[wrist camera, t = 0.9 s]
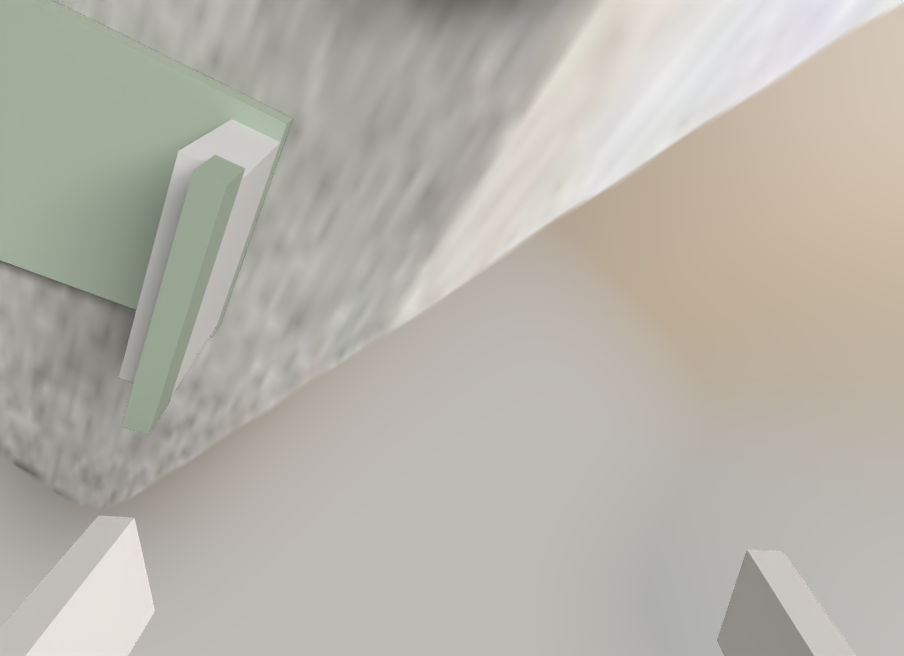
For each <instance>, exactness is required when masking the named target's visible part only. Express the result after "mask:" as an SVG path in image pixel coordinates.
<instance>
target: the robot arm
mask: <svg viewBox="0 0 904 656" xmlns="http://www.w3.org/2000/svg"><path fill="white" fill-rule="evenodd" d="M154 612H155V609H154V604H153V600H152V595H151V591H150V586H149V581H148V577H147V573H146V568H145V564H144V559H143V554H142V550H141V545H140V541H139V536H138V532H137V527H136V523H135V518H132V517H113V516H98V517H97V519H95V520H94V522H93V523H92V524H91V525H90V526H89V527H88V528H87V530H86V531H85V532H84V533H83V534H82V535H81V536H80V538H79V539H78V540H77V541H76V542H75V543H74V544H73V546H72V547H71V548H70V549H69V550H68V551H67V552H66V554H65V555H64V556H63V557H62V558H61V559H60V560H59V561H58V563H57V564H56V565H55V566H54V567H53V568H52V570H51V571H50V572H49V573H48V574H47V575H46V576H45V578H44V579H43V580H42V581H41V582H40V583H39V584H38V585H37V587H36V588H35V589H34V590H33V591H32V592H31V593H30V594H29V596H28V597H27V598H26V599H25V600H24V601H23V603H22V604H21V605H20V606H19V607H18V608H17V609H16V610H15V612H14V613H13V614H12V615H11V616H10V617H9V618H8V620H7V621H6V622H5V623H4V624H3V625H2V626H1V628H0V656H128V655H129V653H130V651H131V650H132V648H133V647H134V645H135V643H136V641H137V640H138V638H139V637H140V635H141V633H142V632H143V630H144V628H145V627H146V625H147V623H148V622H149V620H150V618H151V617H152V615H153V613H154ZM717 641H718V643H719V645H720V647H721V650H722V652H723V654H724V656H856V654H855V653H854V651H853V650H852V649H851V647H850V646H849V644H848V643H847V641H846V640H845V639H844V637H843V636H842V634H841V633H840V632H839V630H838V629H837V627H836V626H835V624H834V623H833V622H832V620H831V619H830V617H829V616H828V615H827V613H826V612H825V610H824V609H823V607H822V606H821V605H820V603H819V602H818V600H817V599H816V598H815V596H814V595H813V594H812V592H811V590H810V589H809V588H808V586H807V585H806V583H805V582H804V581H803V579H802V578H801V576H800V575H799V574H798V572H797V571H796V569H795V568H794V566H793V565H792V564H791V562H790V561H789V559H788V558H787V556H786V555H785V554H784V552H783V551H768V550H749V549H747V551H746V554H745V557H744V560H743V563H742V566H741V569H740V572H739V575H738V578H737V581H736V584H735V588H734V590H733V593H732V597H731V600H730V602H729V605H728V609H727V612H726V615H725V618H724V621H723V624H722V627H721V630H720V633H719V636H718V639H717Z"/></svg>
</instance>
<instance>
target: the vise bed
mask: <svg viewBox="0 0 904 656" xmlns="http://www.w3.org/2000/svg"><path fill="white" fill-rule="evenodd" d="M292 120H293V119H292V118H290V117H288V116H286V115H284V114H282V113H280V112H278V111H276V110H274V109H272V108H270V107H268V106H266V105H264V104H262V103H260V102H258V101H256V100H254V99H252V98H250V97H247V96H245V95H243V94H241V93H239V92H237V91H235V90H233V89H231V88H229V87H227V86H225V85H223V84H221V83H219V82H217V81H215V80H213V79H211V78H209V77H207V76H205V75H203V74H201V73H199V72H197V71H195V70H193V69H191V68H188V67H186V66H184V65H182V64H180V63H178V62H176V61H174V60H172V59H170V58H168V57H166V56H164V55H162V54H160V53H158V52H156V51H154V50H152V49H150V48H148V47H146V46H144V45H142V44H140V43H138V42H136V41H134V40H132V39H129V38H127V37H125V36H123V35H121V34H119V33H117V32H115V31H113V30H111V29H109V28H107V27H105V26H103V25H101V24H99V23H97V22H95V21H93V20H91V19H89V18H87V17H85V16H83V15H81V14H79V13H77V12H75V11H72V10H70V9H68V8H66V7H64V6H62V5H60V4H58V3H56V2H54V1H52V0H0V260H1V261H4V262H7V263H9V264H12V265H15V266H18V267H20V268H23V269H26V270H28V271H31V272H34V273H37V274H39V275H42V276H45V277H48V278H50V279H53V280H56V281H58V282H61V283H64V284H67V285H69V286H72V287H75V288H78V289H80V290H83V291H86V292H89V293H91V294H94V295H97V296H99V297H102V298H105V299H108V300H110V301H113V302H116V303H119V304H121V305H124V306H127V307H129V308H132V309H135V310H136V314H135V317H134V321H133V325H132V329H131V333H130V336H129V340H128V344H127V348H126V352H125V355H124V359H123V363H122V367H121V371H120V375H119V379H122V380H125V381H128V382H131V383H133V387H132V390H131V394H130V398H129V401H128V405H127V408H126V412H125V415H124V419H123V423H122V426H121V427H123V428H127V429H130V430H133V431H136V432H139V433H143V434H146V435H149V434H150V432H151V431H152V429H153V427H154V426H155V424H156V423H157V421H158V420H159V418H160V416H161V415H162V413H163V412H164V410H165V409H166V407H167V405H168V404H169V402H170V399H171V396H172V394H173V393H174V391H175V389H176V388H177V386H178V385H179V383H180V382H181V380H182V379H183V377H184V375H185V374H186V372H187V371H188V369H189V368H190V366H191V365H192V363H193V361H194V360H195V358H196V357H197V355H198V354H199V352H200V351H201V349H202V347H203V346H204V344H205V343H206V341H207V340H208V338H209V337H211V338H213V336H214V335H215V333H216V331H217V330H218V328H219V327H220V325H221V322H222V319H223V316H224V313H225V310H226V307H227V305H228V302H229V299H230V296H231V293H232V290H233V288H234V285H235V282H236V279H237V276H238V273H239V270H240V268H241V265H242V262H243V259H244V256H245V253H246V251H247V248H248V245H249V242H250V239H251V236H252V233H253V231H254V228H255V225H256V222H257V219H258V216H259V214H260V211H261V208H262V205H263V202H264V199H265V196H266V194H267V191H268V188H269V185H270V182H271V179H272V177H273V174H274V171H275V168H276V165H277V162H278V159H279V157H280V154H281V151H282V148H283V145H284V142H285V140H286V137H287V134H288V131H289V128H290V125H291V122H292Z"/></svg>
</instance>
